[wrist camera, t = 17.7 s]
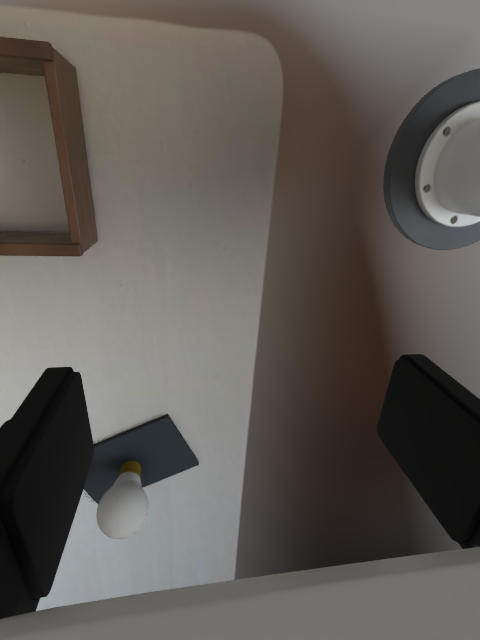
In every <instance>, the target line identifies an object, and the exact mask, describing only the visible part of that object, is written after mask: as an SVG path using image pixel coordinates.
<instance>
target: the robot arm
mask: <svg viewBox="0 0 480 640" xmlns="http://www.w3.org/2000/svg"><path fill="white" fill-rule="evenodd" d="M415 192H416V196H417V200H418V203H419V205H420V207H421V209H422V211H423V212H424V213H425V214H426V215H427V217H428V218H430V219H431V220H433V221H434V222H436V223H438V224H441V225H445V226H449V227H464V226H469V225H472V224H475V223H477V222H480V101H479V102H475V103H471V104H468V105H466V106H464V107H461V108H459V109H458V110H456V111H455V112H453V113H452V114H450V115H449V116H447V117H446V118H445V119H444V120H443V121H442V122H441V123H440V124H439V125H438V126H437V127H436V129H435V130H434V131H433V132H432V134H431V135H430V137H429V138H428V140H427V142H426V144H425V145H424V147H423V150H422V152H421V154H420V157H419V160H418V164H417V168H416V174H415ZM377 433H378V436H379V438H380V439H381V441H382V442H383V444H384V445H385V446H386V448H387V449H388V451H389V452H390V453H391V455H392V456H393V458H394V459H395V460H396V462H397V463H398V464H399V466H400V467H401V469H402V470H403V472H404V473H405V474H406V476H407V477H408V479H409V480H410V481H411V483H412V484H413V486H414V487H415V488H416V490H417V491H418V493H419V494H420V495H421V497H422V498H423V500H424V501H425V503H426V504H427V505H428V507H429V508H430V509H431V511H432V512H433V514H434V515H435V517H436V518H437V519H438V521H439V522H440V523H441V525H442V526H443V528H444V529H445V531H446V532H447V533H448V535H449V536H450V537H451V538H452V539H453V540H454V541H456V542H458V543H459V544H460V546H461V547H462V549H460V550H452V551H445V552H437V553H429V554H421V555H414V556H406V557H399V558H392V559H384V560H377V561H370V562H362V563H355V564H347V565H340V566H333V567H325V568H318V569H311V570H304V571H296V572H289V573H282V574H275V575H268V576H261V577H254V578H246V579H239V580H232V581H225V582H218V583H211V584H204V585H197V586H190V587H183V588H176V589H169V590H162V591H155V592H148V593H142V594H136V595H129V596H123V597H117V598H111V599H105V600H99V601H92V602H86V603H80V604H74V605H68V606H61V607H55V608H50V609H46V610H41V611H36V608H37V605H38V603H39V600H40V597H46V596H47V595H48V594H49V592H50V590H51V587H52V584H53V581H54V578H55V575H56V572H57V569H58V566H59V563H60V559H61V556H62V553H63V550H64V547H65V544H66V541H67V538H68V535H69V532H70V528H71V525H72V522H73V519H74V516H75V513H76V510H77V507H78V504H79V501H80V497H81V494H82V491H83V488H84V485H85V482H86V479H87V476H88V473H89V470H90V466H91V463H92V460H93V455H94V445H93V440H92V434H91V429H90V423H89V418H88V412H87V406H86V401H85V395H84V390H83V384H82V379H81V375H80V373H79V372H74V371H73V369H72V368H71V367H56V368H47V369H46V370H45V371H44V373H43V374H42V376H41V377H40V378H39V380H38V381H37V383H36V384H35V386H34V387H33V388H32V390H31V391H30V393H29V394H28V396H27V397H26V398H25V400H24V401H23V403H22V404H21V406H20V407H19V408H18V410H17V411H16V413H15V414H14V416H13V417H12V418H11V419H10V420H8V421H6V422H5V423H4V424H3V425H2V426H1V428H0V640H480V399H479V398H477V397H476V396H475V395H474V394H472V393H471V392H470V391H469V390H467V389H466V388H465V387H464V386H462V385H461V384H460V383H458V382H457V381H456V380H455V379H453V378H452V377H451V376H450V375H448V374H447V373H446V372H444V371H443V370H442V369H441V368H439V367H438V366H437V365H436V364H435V363H433V362H432V361H431V360H429V359H428V358H427V357H425V356H424V355H422V354H411V355H402V356H401V357H400V358H399V360H397V361H396V362H395V364H394V367H393V370H392V374H391V378H390V381H389V385H388V388H387V392H386V396H385V399H384V403H383V406H382V410H381V414H380V417H379V421H378V425H377ZM35 611H36V612H35Z"/></svg>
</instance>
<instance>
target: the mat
mask: <svg viewBox="0 0 480 640" xmlns="http://www.w3.org/2000/svg"><path fill="white" fill-rule="evenodd" d="M127 461H136V462H138V463H139V464H140V465H141V473H140V480H141V486H142V488H143V487H145V486H148V485H150V484H152V483H155V482H157V481H160V480H162V479H165V478H167V477H170V476H172V475H175V474H177V473H180V472H182V471H184V470H187V469H189V468H192V467H194V466H197V465H199V461H198V460H197V458H196V457H195V455H194V454H193V452H192V451H191V449H190V448H189V446H188V445H187V443H186V441H185V440H184V438H183V437H182V435H181V434H180V432H179V431H178V429H177V428H176V426H175V424H174V423H173V421H172V420H171V418H170V417H169V415H168V414H167V415H165V416H162V417H160V418H158V419H155V420H153V421H150V422H148V423H146V424H143V425H141V426H138V427H136V428H133V429H131V430H129V431H126V432H124V433H121V434H119V435H116V436H114V437H112V438H109V439H107V440H104V441H102V442H99V443H97V444H95V445H94V455H93V460H92V463H91V466H90V470H89V473H88V476H87V479H86V482H85V485H84V488H83V489H84V490H85V491H86V492H87V493H88V494H89V495H90V496H91V497H92V498H93V499H94V500H95V501H96V503H97V504H98V505H99V502H100V500H101V498H102V497H103V495H104V494H105V493H106V492H107V491H108V490H109V489H110V488H111V487H112V486H113V485H114V483H115V481H116V480H117V478H118V477H119V474H120V470H121V467H122V465H123V464H124V463H125V462H127Z"/></svg>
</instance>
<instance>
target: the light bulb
mask: <svg viewBox="0 0 480 640" xmlns="http://www.w3.org/2000/svg"><path fill="white" fill-rule="evenodd" d="M140 473H141V465H140V464H139V463H138V462H136V461H127V462H125V463H124V464H123V465H122V467H121V470H120V474H119V477H118V478H117V480H116V481H115V483H114V485H113V486H112V487H111V488H110V489H109V490H108V491H107V492H106V493H105V494H104V495H103V497H102V498H101V500H100V502H99V505H98V508H97V522H98V525H99V528H100V529H101V531H102V532H103V533H104V534H105V535H106V536H108V537H110V538H113V539H124V538H127V537H130V536H131V535H133V534H134V533H136V532H137V531H138V530H139V529H140V528H141V527H142V525H143V524H144V522H145V520H146V517H147V514H148V509H149V503H148V498H147V495H146V493H145V491H144V490H143V489H142V486H141V480H140Z"/></svg>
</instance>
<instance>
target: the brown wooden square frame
mask: <svg viewBox="0 0 480 640" xmlns="http://www.w3.org/2000/svg"><path fill="white" fill-rule="evenodd" d="M0 72H4V73H15V74H27V75H38V76H45V79H46V85H47V92H48V98H49V104H50V110H51V117H52V123H53V129H54V135H55V142H56V148H57V154H58V160H59V166H60V173H61V179H62V185H63V191H64V198H65V204H66V210H67V216H68V223H69V229H70V233H51V232H4V231H0V255H5V256H82V255H83V253H84V252H85V251H86V250H87V249H89V248H90V247H91V246H92V245H94V244H95V243H96V242H97V241H98V240H97V232H96V224H95V216H94V208H93V201H92V193H91V185H90V177H89V169H88V161H87V154H86V146H85V138H84V130H83V122H82V115H81V107H80V99H79V91H78V83H77V76H76V68H75V67H74V66H73V65H72V64H71V63H69V62H68V61H67V60H66V59H65V58H64V57H63V56H62V55H61V54H59V53H58V52H57V51H56V50H55V49H54V48H53V47H52V45H51V44H50V43H49V42H44V41H34V40H25V39H15V38H5V37H0Z"/></svg>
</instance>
